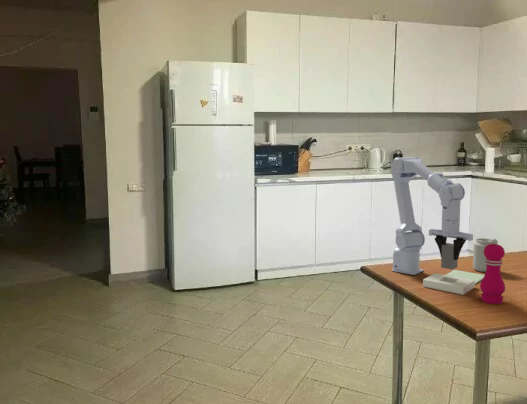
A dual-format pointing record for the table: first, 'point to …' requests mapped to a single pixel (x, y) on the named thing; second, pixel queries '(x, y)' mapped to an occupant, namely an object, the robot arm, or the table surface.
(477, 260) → the can
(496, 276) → the pepper mill
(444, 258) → the plug
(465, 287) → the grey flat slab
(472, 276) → the mat
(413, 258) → the robot arm
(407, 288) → the table surface
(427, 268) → the table surface
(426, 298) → the table surface
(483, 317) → the table surface
